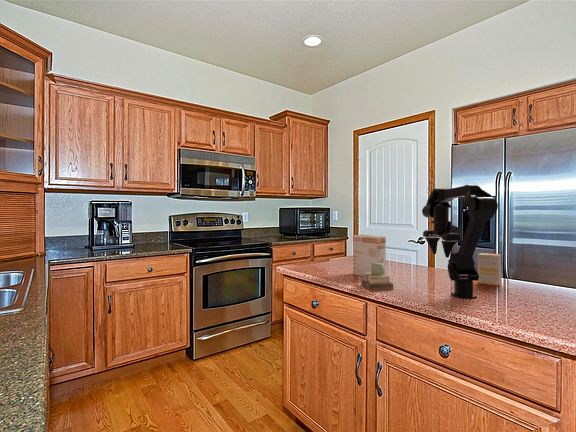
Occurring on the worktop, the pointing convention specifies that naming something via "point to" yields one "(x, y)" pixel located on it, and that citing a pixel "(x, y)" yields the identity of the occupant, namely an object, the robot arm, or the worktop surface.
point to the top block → (377, 278)
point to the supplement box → (489, 269)
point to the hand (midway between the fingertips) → (440, 255)
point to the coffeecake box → (368, 253)
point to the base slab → (376, 286)
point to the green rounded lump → (377, 269)
